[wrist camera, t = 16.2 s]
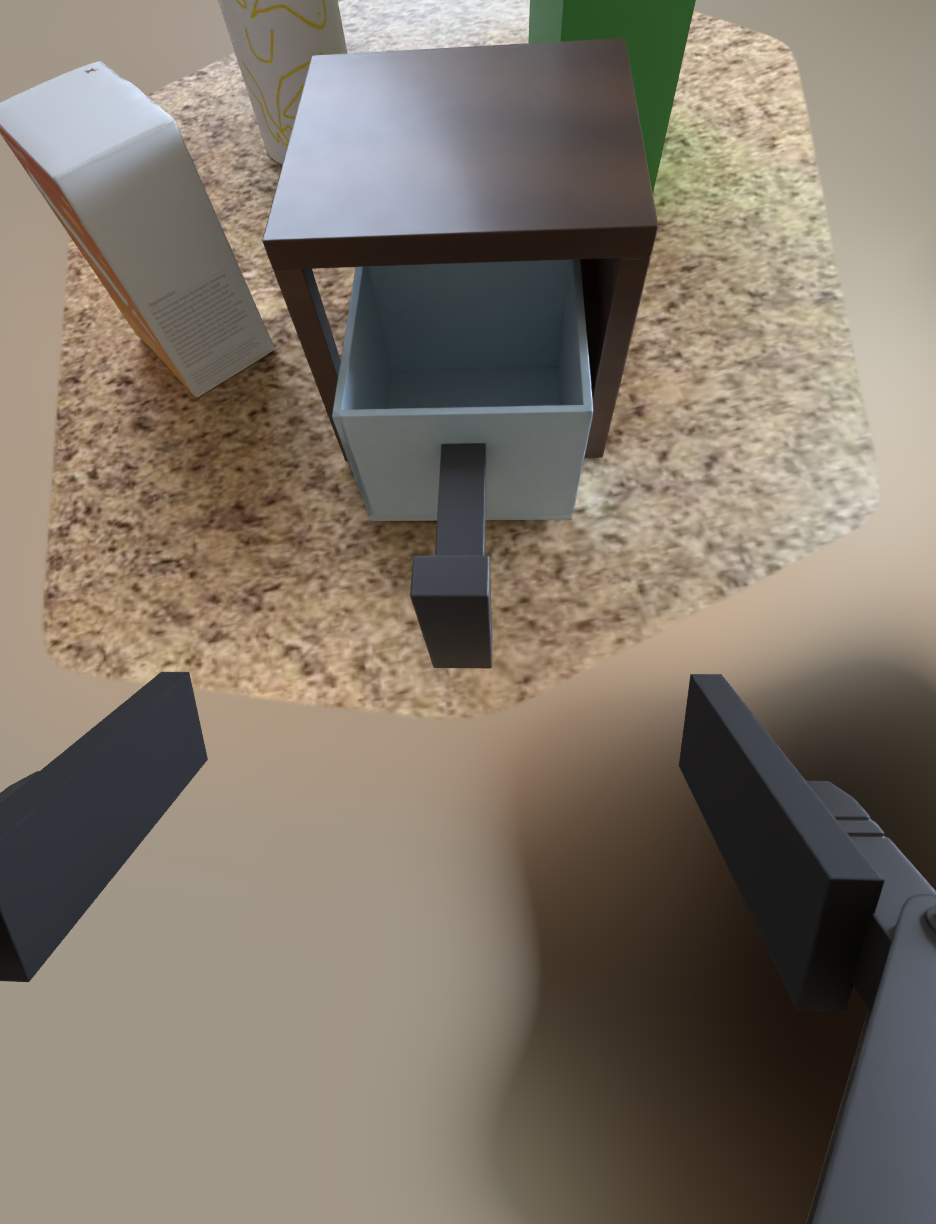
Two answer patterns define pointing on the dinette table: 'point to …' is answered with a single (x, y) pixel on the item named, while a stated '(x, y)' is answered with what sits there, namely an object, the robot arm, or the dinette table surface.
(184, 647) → the dinette table surface
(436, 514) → the drawer
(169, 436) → the dinette table surface
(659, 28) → the green and white box
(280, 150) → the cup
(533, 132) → the cabinet
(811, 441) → the dinette table surface
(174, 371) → the small box
